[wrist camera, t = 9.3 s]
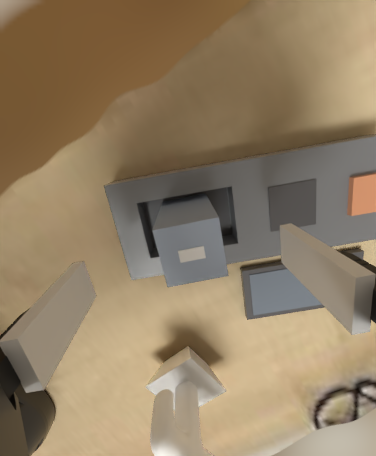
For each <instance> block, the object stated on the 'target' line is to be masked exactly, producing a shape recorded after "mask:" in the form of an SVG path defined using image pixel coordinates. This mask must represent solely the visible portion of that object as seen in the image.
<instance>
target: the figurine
mask: <svg viewBox="0 0 376 456" xmlns="http://www.w3.org/2000/svg"><path fill="white" fill-rule="evenodd" d="M146 388H147V389H148V390H149V391H151V392H152V393H153V394H154V395H156V396H155V399H154V405H153V414H152V423H151V434H150V443H151V449H152V452H153V454H154V455H155V456H214V455H213V454H212V453H210V452H209V451H208V450H207V449H205V448H204V447H203V444H202V440H201V433H200V418H199V407H200V406H202V405H204V404H205V403H207V402H209V401H211V400H212V399H214V398H216V397H217V396H219V395H221V394H223V393H224V392H226V389H225V388H224V386H223V385H222V384H221V382H220V381H219V379H218V378H217V377H216V375H215V374H214V373H213V371H212V370H211V368H210V367H209V366H208V364H207V363H206V362H205V361H204V360H203V359H201V358H200V357H199V356H198V355H197V354H196V353H195V352H194V351H193V350H192V349H191V348H190V347H189V346H187V347H186V348H184V349H183V350H181V351H180V352H178V353H177V354H175V355H174V356H172V357H171V358H169V359H168V360H166V361H164V362H163V364H162V365H161V366H160V368H159V369H158V370H157V372H156V373H155V374H154V376H153V377H152V379H151V380H150V381H149V383H148V384H147V385H146ZM174 411H175V415H174Z"/></svg>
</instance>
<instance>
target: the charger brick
mask: <svg viewBox="0 0 376 456" xmlns="http://www.w3.org/2000/svg"><path fill="white" fill-rule="evenodd" d="M152 231H153V235H154V239H155V242H156V246H157V250H158V253H159V257H160V261H161V265H162V268H163V272H164V276H165V279H166V283H167V287H172V286H178V285H183V284H188V283H193V282H199V281H204V280H209V279H214V278H220V277H225V276H228V270H227V264H226V258H225V252H224V245H223V239H222V233H221V227H220V221H219V217H218V215H217V213H216V211H215V209H214V208H213V206H212V204H211V202H210V200H209V199H208V197H207V195H206V193H203V194H198V195H193V196H188V197H183V198H179V199H174V200H169V201H164V202H163V203H162V205H161V208H160V211H159V214H158V216H157V219H156V222H155V225H154V227H153V230H152Z"/></svg>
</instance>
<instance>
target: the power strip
mask: <svg viewBox="0 0 376 456" xmlns="http://www.w3.org/2000/svg"><path fill="white" fill-rule="evenodd" d="M104 188H105V192H106V195H107V198H108V202H109V205H110V209H111V212H112V215H113V219H114V222H115V226H116V229H117V232H118V236H119V239H120V243H121V246H122V249H123V253H124V256H125V260H126V263H127V266H128V270H129V273H130V277H131V280H136V279H142V278H148V277H153V276H159V275H164V272H163V268H162V265H161V261H160V257H159V253H158V250H157V246H156V242H155V239H154V235H153V231H152V230H153V227H154V225H155V222H156V219H157V216H158V214H159V211H160V208H161V205H162V203H163V202H164V201H169V200H174V199H179V198H183V197H188V196H193V195H198V194H203V193H206V195H207V197H208V199H209V200H210V202H211V204H212V206H213V208H214V209H215V211H216V213H217V215H218V217H219V221H220V227H221V233H222V239H223V245H224V252H225V258H226V264H231V263H237V262H243V261H249V260H255V259H261V258H267V257H273V256H278V255H281V240H280V225H285V224H290V223H292V224H293V225H295V226H297V227H298V228H300V229H302V230H303V231H305V232H307V233H308V234H310V235H311V236H313V237H315V238H316V239H318V240H320V241H321V242H323V243H325V244H326V245H328V246H330V247H332V246H338V245H344V244H350V243H356V242H362V241H368V240H374V239H376V134H375V135H366V136H360V137H355V138H349V139H344V140H338V141H333V142H327V143H322V144H316V145H311V146H305V147H300V148H294V149H289V150H283V151H278V152H272V153H267V154H261V155H256V156H250V157H245V158H239V159H234V160H228V161H223V162H217V163H212V164H206V165H201V166H195V167H190V168H184V169H179V170H173V171H168V172H162V173H157V174H151V175H146V176H140V177H135V178H129V179H124V180H118V181H113V182H111V183H109V184H106V185H104Z"/></svg>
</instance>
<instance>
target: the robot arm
mask: <svg viewBox="0 0 376 456" xmlns="http://www.w3.org/2000/svg"><path fill="white" fill-rule="evenodd" d="M280 240H281V261H282V264H283V265H284V266H285V267H286V268H287V269H288V270H289V271H290V272H291V273H292V274H293V275H294V276H295V277H296V278H297V279H298V280H299V281H300V282H301V283H302V284H303V285H304V286H305V287H306V288H307V289H308V290H309V291H310V292H311V293H312V294H313V295H314V296H315V297H316V299H317V300H318V301H319V302H320V303H321V304H322V305H323V306H324V307H325V308H326V309H327V310H328V311H329V312H330V313H331V314H332V315H333V316H334V317H335V318H336V319H337V320H338V321H339V322H340V323H341V324H342V325H343V326H344V327H345V328H346V329H347V330H348V331H349V332H350V334H351V335H354V334H359V333H365V332H370V326H371V320H372V321H374V322H375V323H376V267H375V266H373V265H371V264H369V263H368V262H366V261H364V260H362V259H361V258H359V257H357V256H355V255H354V254H351V253H348V252H344V251H336V250H335V249H333V248H331V247H330V246H328V245H326V244H325V243H323V242H321V241H320V240H318V239H316V238H315V237H313V236H311V235H310V234H308V233H307V232H305V231H303V230H302V229H300V228H298V227H297V226H295V225H293V224H292V223H290V224H285V225H280ZM95 298H96V293H95V291H94V288H93V285H92V282H91V279H90V277H89V274H88V271H87V268H86V265H85V263H84V261H82V262H76V263H72V264H71V265H70V266H69V267H68V269H67V270H66V271H65V272H64V273H63V274H62V275H61V276H60V277H59V278H58V279H57V280H56V281H55V282H54V283H53V284H52V285H51V287H50V288H49V289H48V290H47V291H46V292H45V293H44V294H43V295H42V296H41V297H40V298H39V299H38V300H37V301H36V302H35V304H34V305H33V306H32V307H31V308H30V309H28V310H27V311H25V312H24V313H23V314H21V315H20V316H19V317H18V318H17V319H16V320H15V321H14V322H13V324H11V325H10V326H9V327H8V328H7V330H6V331H5V332H4V333H3V334H2V335H1V336H0V456H31V455H32V454H33V452H35V451H36V450H37V449H38V448H39V447H40V445H41V444H42V443H43V441H44V440H45V438H46V436H47V434H48V432H49V430H50V428H51V426H52V423H53V421H54V418H55V409H54V406H53V403H52V401H51V399H50V398H49V396H48V395H47V394H46V393H45V392H44V391H43V390H44V389H45V387H46V386H47V384H48V382H49V380H50V378H51V377H52V375H53V373H54V371H55V369H56V368H57V366H58V364H59V362H60V361H61V359H62V357H63V355H64V353H65V352H66V350H67V348H68V346H69V344H70V343H71V341H72V339H73V337H74V335H75V334H76V332H77V330H78V328H79V326H80V325H81V323H82V321H83V319H84V317H85V316H86V314H87V312H88V310H89V309H90V307H91V305H92V303H93V301H94V300H95Z"/></svg>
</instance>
